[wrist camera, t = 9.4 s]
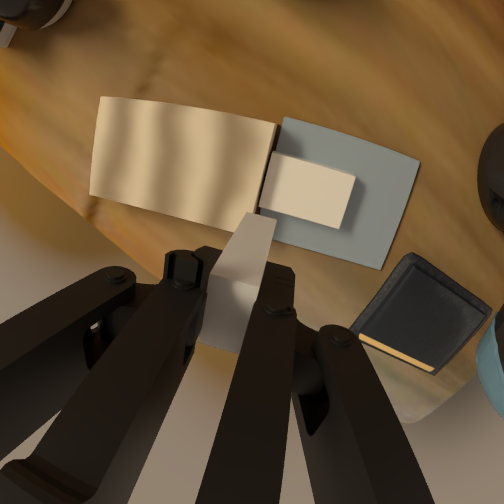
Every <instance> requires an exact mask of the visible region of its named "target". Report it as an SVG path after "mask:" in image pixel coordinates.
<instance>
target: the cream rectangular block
mask: <svg viewBox="0 0 504 504" xmlns="http://www.w3.org/2000/svg"><path fill="white" fill-rule="evenodd" d="M355 178H356V176H355V175H354V174H352V173H349V172H346V171H342V170H339V169H336V168H333V167H329V166H326V165H323V164H319V163H316V162H313V161H309V160H306V159H302V158H298V157H295V156H291V155H287V154H284V153H280V152H276V151H273V152H272V154H271V158H270V162H269V166H268V170H267V174H266V178H265V182H264V186H263V190H262V194H261V198H260V202H259V206H258V207H262V208H266V209H270V210H273V211H277V212H281V213H284V214H288V215H291V216H295V217H299V218H302V219H306V220H309V221H313V222H316V223H319V224H323V225H326V226H330V227H333V228H337V229H339V227H340V224H341V221H342V218H343V215H344V212H345V209H346V206H347V203H348V200H349V197H350V194H351V191H352V188H353V184H354V181H355Z"/></svg>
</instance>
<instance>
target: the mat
mask: <svg viewBox="0 0 504 504" xmlns="http://www.w3.org/2000/svg"><path fill="white" fill-rule="evenodd" d="M276 152H280V153H284V154H287V155H291V156H295V157H298V158H302V159H306V160H309V161H313V162H316V163H319V164H323V165H326V166H329V167H333V168H336V169H339V170H342V171H346V172H349V173H352V174H354V175H355V176H356V178H355V181H354V184H353V188H352V191H351V194H350V197H349V200H348V203H347V206H346V209H345V212H344V215H343V218H342V221H341V224H340V227H339V229H337V228H333V227H330V226H326V225H323V224H319V223H316V222H313V221H309V220H306V219H302V218H299V217H295V216H291V215H288V214H284V213H281V212H277V211H273V210H270V209H266V208H262V207H261V210H260V214H259V215H261V216H265V217H269V218H272V219H276V220H277V222H276V226H275V230H274V234H273V238H272V239H273V240H276V241H280V242H283V243H287V244H291V245H294V246H298V247H301V248H305V249H309V250H312V251H316V252H319V253H323V254H326V255H330V256H333V257H337V258H340V259H344V260H347V261H351V262H354V263H358V264H361V265H365V266H368V267H371V268H375V269H378V270H381V267H382V265H383V263H384V260H385V258H386V255H387V253H388V251H389V248H390V246H391V243H392V241H393V238H394V235H395V233H396V230H397V228H398V225H399V222H400V220H401V217H402V214H403V211H404V209H405V206H406V203H407V200H408V197H409V194H410V191H411V188H412V185H413V182H414V179H415V176H416V173H417V170H418V167H419V164H420V161H418V160H415V159H413V158H410V157H408V156H405V155H403V154H400V153H398V152H395V151H393V150H390V149H387V148H385V147H382V146H379V145H376V144H374V143H371V142H368V141H365V140H362V139H359V138H356V137H353V136H350V135H347V134H344V133H341V132H338V131H334V130H331V129H328V128H325V127H321V126H318V125H314V124H311V123H307V122H304V121H300V120H296V119H292V118H288V117H285V116H284V120H283V123H282V127H281V131H280V135H279V139H278V143H277V147H276Z"/></svg>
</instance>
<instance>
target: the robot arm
mask: <svg viewBox="0 0 504 504" xmlns="http://www.w3.org/2000/svg"><path fill="white" fill-rule="evenodd" d="M477 182H478V192H479V197H480V201H481V204H482V207H483V209H484V211H485V213H486V215H487V217H488V218H489V220H490V221H491V222H492V223H493V224H494V225H495V226H496V227H498V228H499V229H501V230H502V231H503V232H504V123H503V124H501V125H499V126H498V127H497V128H496V129H495V130H494V131H493V132H492V133H491V134H490V135H489V137H488V139H487V140H486V142H485V144H484V146H483V149H482V152H481V155H480V159H479V164H478V175H477ZM276 222H277V220H276V219H272V218H269V217H265V216H261V215H257V214H253V213H249V212H246V214H245V215H244V217H243V219H242V220H241V222H240V224H239V225H238V227H237V229H236V230H235V232H234V234H233V235H232V237H231V239H230V240H229V242H228V244H227V245H226V247H225V249H224V250H219V249H215V248H212V247H208V246H203V247H201V248H198V249H196V250H195V251H189V250H174V251H170V252H168V253H167V254H165V263H164V274H163V279H162V280H161V281H160V283H159V284H156V285H154V284H141V283H136V275H135V274H134V272H132V271H131V270H130V269H127V268H124V267H120V266H111V267H105V268H102V269H100V270H98V271H96V272H94V273H92V274H90V275H88V276H86V277H85V278H83V279H81V280H79V281H77V282H75V283H73V284H71V285H69V286H68V287H66V288H64V289H62V290H60V291H58V292H56V293H55V294H53V295H51V296H49V297H47V298H46V299H44V300H42V301H40V302H38V303H36V304H35V305H33V306H31V307H29V308H28V309H26V310H24V311H22V312H20V313H19V314H17V315H15V316H13V317H12V318H10V319H8V320H6V321H5V322H3V323H1V324H0V461H1V460H2V459H3V458H4V457H6V456H7V455H8V454H9V453H10V452H12V451H13V450H14V449H15V448H16V447H17V446H19V445H20V444H21V443H22V442H23V441H24V440H26V439H27V438H28V437H29V436H31V435H32V434H33V433H34V432H35V431H36V430H38V429H39V428H40V427H41V426H42V425H44V424H45V423H46V422H47V421H48V420H50V419H51V418H52V417H53V416H54V415H55V414H57V413H58V412H59V411H60V410H61V409H62V410H61V412H60V413H59V415H58V416H57V417H56V419H55V420H54V422H53V423H52V424H51V426H50V427H49V429H48V430H47V432H46V433H45V435H44V436H43V438H42V439H41V441H40V442H39V444H38V445H37V447H36V448H35V450H34V451H33V452H32V454H31V455H30V456H29V457H27V458H26V459H16V460H12V461H10V462H8V463H6V464H5V465H4V466H3V468H2V469H1V470H0V504H127V503H128V501H129V498H130V496H131V494H132V491H133V489H134V487H135V484H136V482H137V480H138V478H139V475H140V473H141V470H142V468H143V466H144V464H145V462H146V459H147V457H148V455H149V452H150V450H151V448H152V445H153V443H154V441H155V439H156V437H157V434H158V432H159V430H160V427H161V425H162V423H163V420H164V418H165V416H166V414H167V412H168V409H169V407H170V405H171V403H172V400H173V398H174V396H175V394H176V391H177V389H178V387H179V385H180V383H181V380H182V378H183V376H184V373H185V371H186V369H187V367H188V365H189V363H190V360H191V358H192V356H193V354H194V349H195V342H196V340H197V337H198V335H199V341H198V342H199V343H202V344H205V345H209V346H212V347H215V348H219V349H223V350H226V351H230V352H233V353H237V354H239V357H238V361H237V365H236V368H235V371H234V375H233V378H232V382H231V385H230V389H229V392H228V396H227V399H226V403H225V406H224V409H223V412H222V416H221V420H220V423H219V426H218V430H217V433H216V436H215V440H214V443H213V447H212V450H211V453H210V456H209V460H208V463H207V466H206V469H205V473H204V476H203V479H202V483H201V486H200V489H199V492H198V496H197V499H196V502H195V504H279V500H280V493H281V485H282V477H283V469H284V460H285V451H286V442H287V432H288V422H289V413H290V401H291V397H292V401H293V406H294V410H295V415H296V419H297V424H298V428H299V433H300V437H301V442H302V446H303V451H304V456H305V460H306V464H307V469H308V474H309V478H310V483H311V487H312V492H313V496H314V501H315V504H435V503H434V500H433V498H432V495H431V493H430V490H429V488H428V485H427V483H426V481H425V478H424V476H423V473H422V471H421V469H420V467H419V464H418V462H417V459H416V457H415V455H414V453H413V450H412V448H411V446H410V444H409V441H408V439H407V437H406V435H405V432H404V430H403V428H402V426H401V424H400V422H399V419H398V417H397V415H396V413H395V411H394V409H393V407H392V404H391V402H390V400H389V398H388V396H387V394H386V392H385V390H384V388H383V386H382V384H381V382H380V380H379V377H378V375H377V373H376V371H375V369H374V367H373V365H372V363H371V361H370V359H369V357H368V355H367V353H366V351H365V350H364V348H363V346H362V344H361V342H360V340H359V338H358V337H357V336H356V335H355V334H354V333H353V332H352V331H350V330H349V329H347V328H344V327H342V326H338V325H325V326H323V327H321V328H320V330H319V332H317V331H315V330H313V329H311V328H309V327H307V326H305V325H304V324H302V323H301V322H300V321H299V320H298V319H297V314H296V310H295V309H294V307H293V304H294V287H295V273H294V272H293V270H292V269H291V267H287V266H283V265H279V264H276V263H272V262H268V261H267V257H268V253H269V249H270V245H271V241H272V238H273V234H274V230H275V226H276ZM97 322H98V326H97V327H96V328H94V329H92V330H91V328H90V327H91V326H92V325H94V324H95V323H97ZM199 333H200V334H199ZM476 365H477V373H478V377H479V380H480V383H481V385H482V388H483V390H484V392H485V394H486V396H487V398H488V399H489V401H490V403H491V404H492V406H493V407H494V409H495V410H496V412H497V413H498V414H499V415H500V416H501V417H502V418H503V419H504V304H503V306H502V307H501V309H500V310H499V312H496V313H495V315H494V316H493V319H492V323H491V324H490V326H489V328H488V329H487V331H486V332H485V334H484V335H483V337H482V338H481V340H480V342H479V344H478V346H477V350H476Z"/></svg>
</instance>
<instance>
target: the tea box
mask: <svg viewBox="0 0 504 504" xmlns="http://www.w3.org/2000/svg"><path fill="white" fill-rule="evenodd" d="M16 29H17V27H14V26H11V25H9V24H7V23H5V22H3V21H1V20H0V47H8V46H9V44H10V42H11V39H12V37H13V35H14V33H15V31H16Z"/></svg>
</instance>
